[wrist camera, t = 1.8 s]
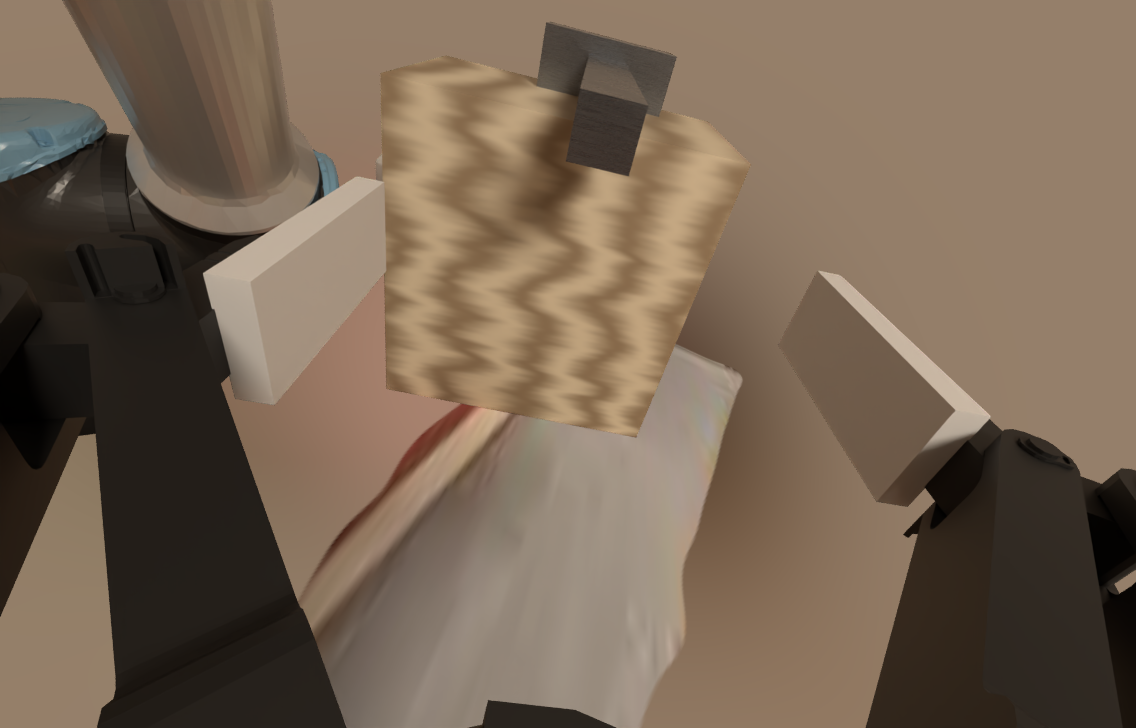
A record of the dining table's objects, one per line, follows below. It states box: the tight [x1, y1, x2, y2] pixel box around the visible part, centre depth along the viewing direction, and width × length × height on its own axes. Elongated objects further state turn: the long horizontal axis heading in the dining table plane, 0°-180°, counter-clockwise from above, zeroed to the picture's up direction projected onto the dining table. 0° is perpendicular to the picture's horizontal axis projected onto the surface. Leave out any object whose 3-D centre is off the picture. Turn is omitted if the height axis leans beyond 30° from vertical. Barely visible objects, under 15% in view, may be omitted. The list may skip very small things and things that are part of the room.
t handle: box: [537, 22, 677, 176], centre depth 36 cm, size 12×30×5 cm, turn 177°
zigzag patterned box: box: [381, 56, 751, 437], centre depth 52 cm, size 28×20×30 cm
